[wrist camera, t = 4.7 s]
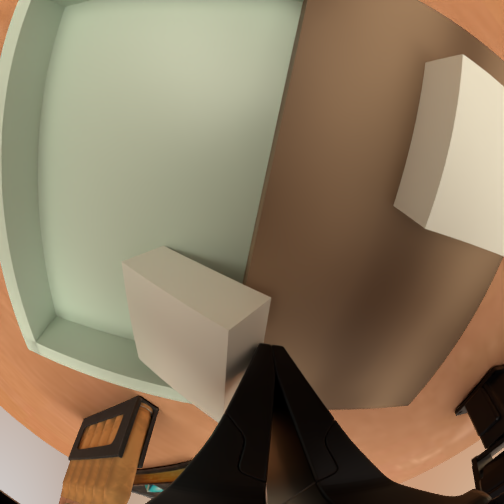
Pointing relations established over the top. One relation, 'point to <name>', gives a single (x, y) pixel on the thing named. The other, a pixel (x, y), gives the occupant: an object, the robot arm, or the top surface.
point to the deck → (361, 208)
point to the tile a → (193, 325)
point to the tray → (130, 157)
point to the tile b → (457, 155)
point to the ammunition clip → (109, 454)
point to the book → (158, 480)
